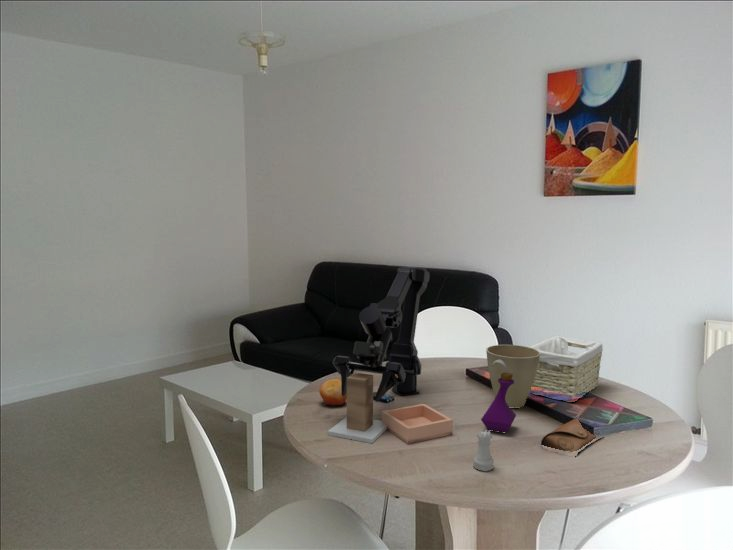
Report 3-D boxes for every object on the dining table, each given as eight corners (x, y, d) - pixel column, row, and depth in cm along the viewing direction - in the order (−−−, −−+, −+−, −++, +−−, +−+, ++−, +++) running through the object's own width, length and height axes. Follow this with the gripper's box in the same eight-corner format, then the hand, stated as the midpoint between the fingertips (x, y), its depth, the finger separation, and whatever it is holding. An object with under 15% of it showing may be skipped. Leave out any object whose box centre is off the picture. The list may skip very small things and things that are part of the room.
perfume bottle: (516, 426, 141) (518, 358, 139) (510, 437, 134) (513, 366, 132) (487, 422, 144) (489, 355, 142) (480, 432, 137) (482, 362, 135)
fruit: (350, 392, 163) (348, 374, 158) (347, 414, 156) (345, 395, 151) (323, 391, 163) (321, 373, 158) (319, 413, 157) (316, 394, 152)
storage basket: (574, 407, 156) (577, 356, 155) (521, 394, 167) (523, 347, 165) (602, 387, 174) (605, 342, 173) (553, 377, 185) (555, 334, 183)
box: (423, 417, 147) (424, 403, 147) (452, 434, 136) (452, 419, 135) (381, 425, 141) (381, 411, 141) (407, 444, 130) (407, 428, 129)
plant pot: (480, 409, 153) (481, 354, 152) (489, 393, 167) (490, 342, 165) (535, 417, 148) (538, 359, 146) (540, 400, 161) (542, 347, 160)
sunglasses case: (576, 459, 122) (562, 430, 124) (549, 465, 127) (536, 437, 128) (606, 436, 135) (593, 410, 137) (581, 443, 140) (569, 417, 141)
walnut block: (355, 421, 141) (355, 372, 140) (372, 424, 139) (373, 375, 138) (346, 428, 136) (346, 377, 135) (364, 431, 134) (365, 380, 133)
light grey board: (348, 418, 146) (348, 415, 146) (390, 425, 141) (390, 422, 141) (327, 434, 135) (327, 431, 135) (372, 443, 130) (372, 439, 130)
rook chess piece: (470, 463, 120) (471, 428, 119) (490, 462, 120) (491, 427, 120) (476, 472, 116) (477, 436, 115) (496, 471, 116) (498, 435, 115)
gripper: (336, 325, 143) (315, 377, 134) (402, 331, 136) (385, 387, 127) (348, 348, 151) (330, 398, 142) (412, 355, 144) (397, 409, 135)
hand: (359, 398), depth 136 cm, fingers open, 9 cm apart
